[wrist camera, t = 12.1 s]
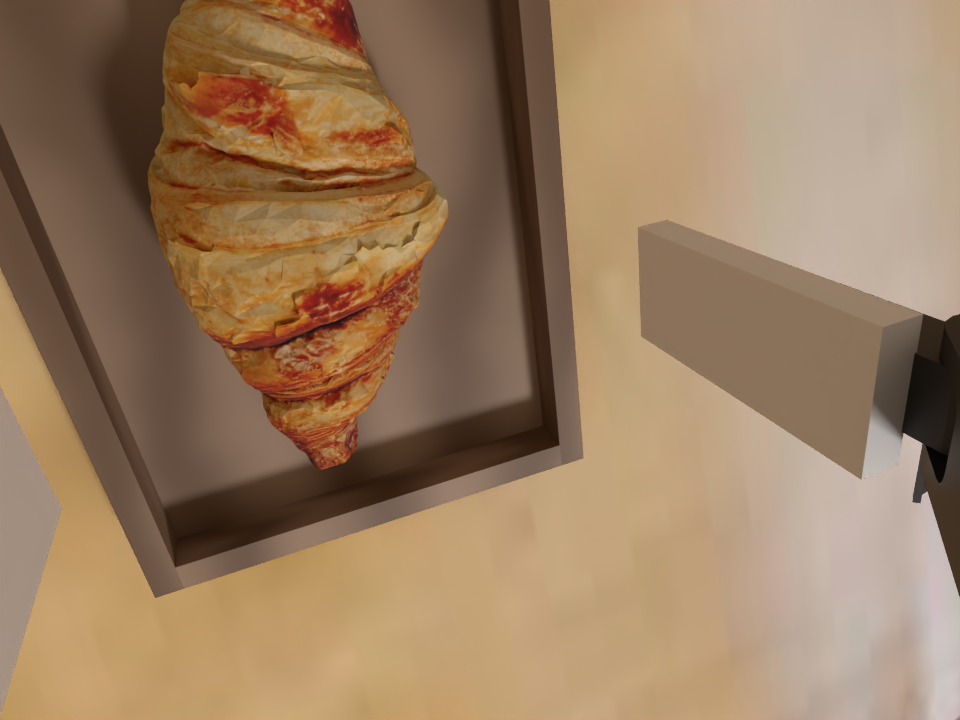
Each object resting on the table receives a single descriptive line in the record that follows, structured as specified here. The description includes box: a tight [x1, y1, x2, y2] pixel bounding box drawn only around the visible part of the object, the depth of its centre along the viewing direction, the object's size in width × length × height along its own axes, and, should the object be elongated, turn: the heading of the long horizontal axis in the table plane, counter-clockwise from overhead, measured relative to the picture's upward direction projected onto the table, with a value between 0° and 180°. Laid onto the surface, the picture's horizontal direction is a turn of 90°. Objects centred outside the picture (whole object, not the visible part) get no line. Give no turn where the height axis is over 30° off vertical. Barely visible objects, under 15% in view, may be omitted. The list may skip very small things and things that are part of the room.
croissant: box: [148, 0, 449, 469], centre depth 25 cm, size 21×10×8 cm, turn 2°
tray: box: [0, 0, 583, 598], centre depth 27 cm, size 20×29×3 cm
